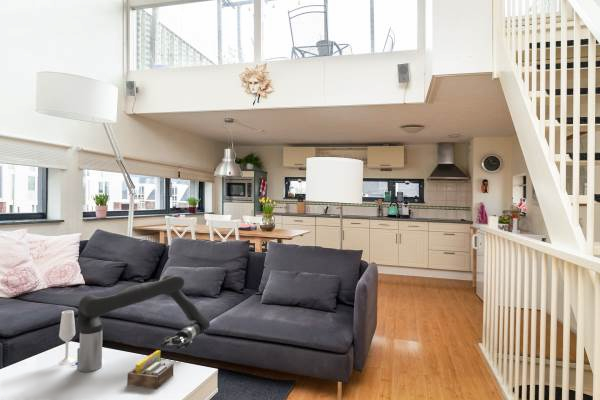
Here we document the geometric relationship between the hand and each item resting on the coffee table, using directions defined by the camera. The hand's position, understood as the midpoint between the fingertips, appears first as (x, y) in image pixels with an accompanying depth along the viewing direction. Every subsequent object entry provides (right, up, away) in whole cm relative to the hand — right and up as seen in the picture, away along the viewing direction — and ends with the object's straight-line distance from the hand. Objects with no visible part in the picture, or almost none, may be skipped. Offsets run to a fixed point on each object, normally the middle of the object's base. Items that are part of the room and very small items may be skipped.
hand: (169, 346), depth 181 cm
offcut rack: (0, -6, -21) cm, 22 cm away
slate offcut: (+4, -6, -23) cm, 24 cm away
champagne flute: (-48, -5, -5) cm, 49 cm away
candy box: (-4, -6, -17) cm, 18 cm away
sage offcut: (0, -6, -21) cm, 22 cm away
